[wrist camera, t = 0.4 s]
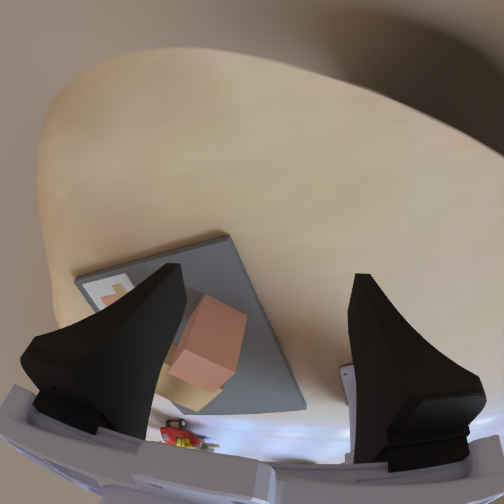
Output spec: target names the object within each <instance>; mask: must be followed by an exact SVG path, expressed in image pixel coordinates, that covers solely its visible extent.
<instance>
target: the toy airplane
mask: <svg viewBox="0 0 504 504" xmlns="http://www.w3.org/2000/svg"><path fill="white" fill-rule="evenodd" d="M166 426H167V427H161V428H160V431H161V435H162V437H163V439H164V441H165V442H166V443H168V444H171V445H176V446H181V447H185V448H190V449H196V450H201V451H207V452H214V449H213V448H219V445H218V444H213V443H205V439H203V438H196V437H194V436H193V435H191V434H190V433H189V432H187V431H186V430H183V429H182V428H185V427H186V421H185V420H183V419H181V420H179V422H172V421H171V420H167V421H166ZM160 442H161V441H160Z"/></svg>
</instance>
